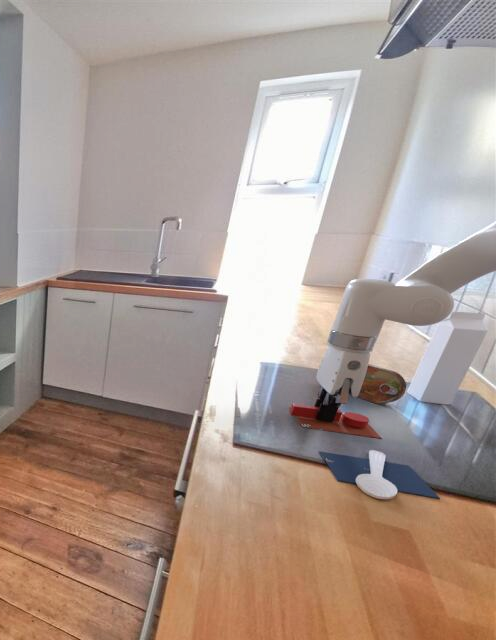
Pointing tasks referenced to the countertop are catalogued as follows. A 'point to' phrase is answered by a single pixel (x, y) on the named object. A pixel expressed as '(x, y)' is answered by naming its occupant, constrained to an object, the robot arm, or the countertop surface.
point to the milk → (448, 357)
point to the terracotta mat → (339, 427)
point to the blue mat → (406, 482)
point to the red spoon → (347, 418)
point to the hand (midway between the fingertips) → (322, 417)
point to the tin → (382, 385)
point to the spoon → (376, 478)
